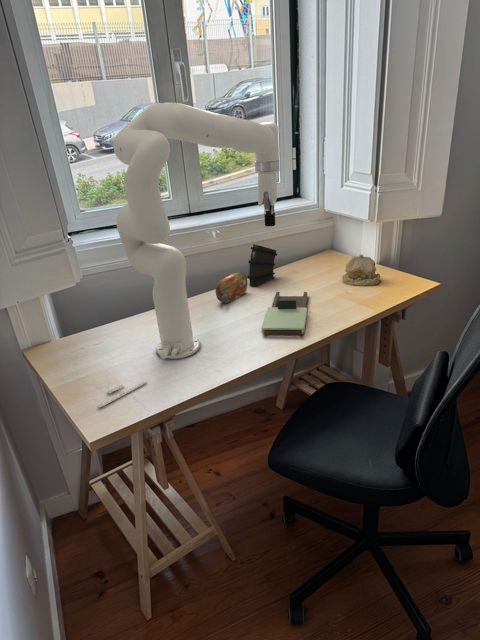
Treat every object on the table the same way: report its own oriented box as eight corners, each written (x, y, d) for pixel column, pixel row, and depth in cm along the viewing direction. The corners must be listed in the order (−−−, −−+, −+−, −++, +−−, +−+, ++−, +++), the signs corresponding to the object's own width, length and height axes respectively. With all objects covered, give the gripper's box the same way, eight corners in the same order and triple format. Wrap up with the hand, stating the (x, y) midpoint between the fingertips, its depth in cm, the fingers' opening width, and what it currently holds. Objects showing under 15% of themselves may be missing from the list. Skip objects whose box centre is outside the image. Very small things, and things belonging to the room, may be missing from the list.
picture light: (99, 409, 124) (98, 401, 123) (90, 402, 127) (88, 395, 126) (145, 384, 133) (144, 377, 132) (136, 378, 135) (134, 372, 134)
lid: (303, 333, 149) (303, 319, 147) (261, 333, 151) (260, 318, 149) (307, 312, 162) (306, 298, 160) (268, 312, 164) (267, 298, 162)
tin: (222, 306, 174) (219, 283, 170) (215, 304, 176) (212, 282, 172) (248, 291, 185) (247, 270, 180) (242, 290, 186) (240, 268, 182)
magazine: (242, 283, 188) (251, 243, 185) (264, 287, 198) (273, 250, 195) (249, 285, 186) (259, 245, 183) (271, 289, 196) (281, 251, 193)
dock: (301, 338, 150) (300, 330, 149) (264, 337, 152) (264, 330, 151) (307, 298, 176) (307, 291, 175) (276, 298, 178) (276, 291, 177)
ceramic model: (339, 284, 186) (339, 258, 181) (345, 273, 195) (346, 248, 190) (377, 287, 181) (378, 260, 176) (382, 276, 190) (383, 250, 185)
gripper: (259, 163, 161) (262, 219, 170) (251, 171, 148) (255, 232, 157) (282, 162, 160) (284, 219, 169) (276, 170, 147) (278, 232, 156)
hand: (270, 225), depth 163 cm, fingers closed
